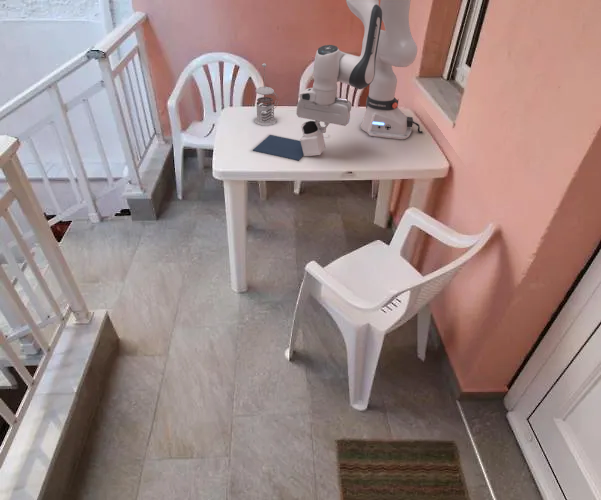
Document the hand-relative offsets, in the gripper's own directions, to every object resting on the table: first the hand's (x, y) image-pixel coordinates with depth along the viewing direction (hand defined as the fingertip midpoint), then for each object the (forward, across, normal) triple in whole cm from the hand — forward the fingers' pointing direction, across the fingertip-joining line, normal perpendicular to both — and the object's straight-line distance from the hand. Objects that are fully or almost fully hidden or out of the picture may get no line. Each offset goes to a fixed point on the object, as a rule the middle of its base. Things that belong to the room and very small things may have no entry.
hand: (321, 132), depth 158 cm
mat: (+10, +16, -1) cm, 19 cm away
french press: (+10, +34, -23) cm, 42 cm away
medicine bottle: (+9, +2, 0) cm, 9 cm away
